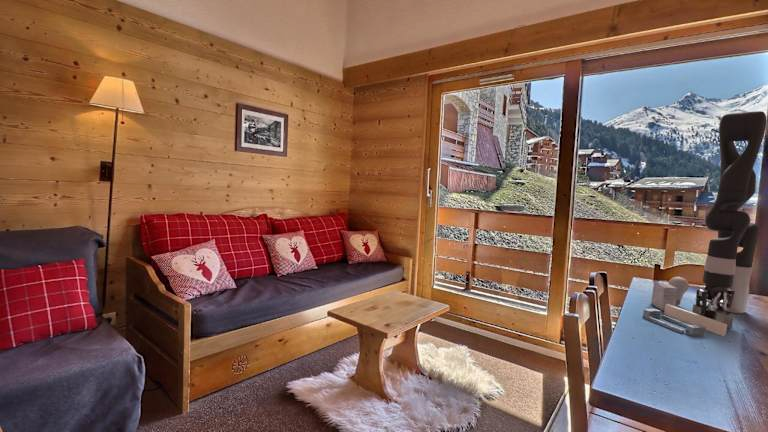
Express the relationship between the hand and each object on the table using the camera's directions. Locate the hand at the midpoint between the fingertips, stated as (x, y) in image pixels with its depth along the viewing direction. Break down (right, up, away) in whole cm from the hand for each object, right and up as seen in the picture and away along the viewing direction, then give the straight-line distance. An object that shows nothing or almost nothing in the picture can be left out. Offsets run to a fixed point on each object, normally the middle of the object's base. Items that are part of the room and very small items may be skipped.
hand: (711, 320), depth 126 cm
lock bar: (0, -1, 0) cm, 1 cm away
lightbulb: (+2, 0, +18) cm, 18 cm away
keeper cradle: (-16, 0, -4) cm, 17 cm away
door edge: (-8, -1, -2) cm, 8 cm away
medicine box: (-6, +1, +14) cm, 15 cm away
